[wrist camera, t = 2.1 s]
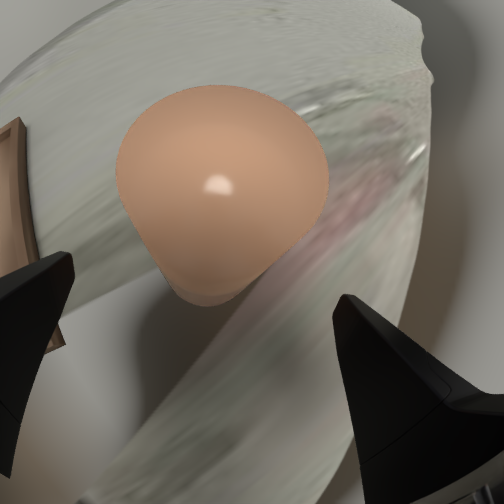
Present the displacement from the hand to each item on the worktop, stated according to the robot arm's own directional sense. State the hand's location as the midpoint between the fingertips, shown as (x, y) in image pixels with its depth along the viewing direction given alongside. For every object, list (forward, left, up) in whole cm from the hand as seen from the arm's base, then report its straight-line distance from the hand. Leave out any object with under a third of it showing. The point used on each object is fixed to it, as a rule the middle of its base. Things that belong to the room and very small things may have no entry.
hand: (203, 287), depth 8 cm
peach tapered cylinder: (+2, +3, -10) cm, 11 cm away
